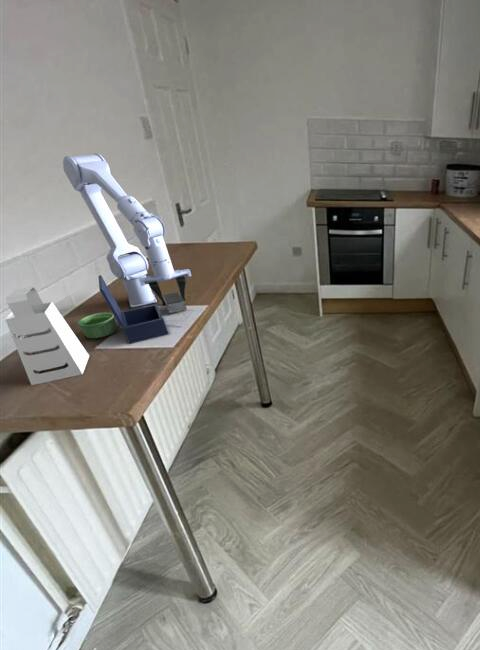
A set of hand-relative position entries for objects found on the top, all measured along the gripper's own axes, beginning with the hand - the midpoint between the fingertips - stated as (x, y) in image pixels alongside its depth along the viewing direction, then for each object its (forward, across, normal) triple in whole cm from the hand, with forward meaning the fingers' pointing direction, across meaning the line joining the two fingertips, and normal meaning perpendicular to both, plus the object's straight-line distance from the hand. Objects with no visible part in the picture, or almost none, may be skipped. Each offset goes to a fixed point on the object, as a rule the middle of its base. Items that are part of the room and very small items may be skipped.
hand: (174, 302), depth 134 cm
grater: (+2, -30, -26) cm, 40 cm away
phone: (+1, 0, 0) cm, 1 cm away
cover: (-8, -15, -12) cm, 21 cm away
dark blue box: (+2, -10, -13) cm, 16 cm away
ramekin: (+2, -21, -6) cm, 22 cm away
